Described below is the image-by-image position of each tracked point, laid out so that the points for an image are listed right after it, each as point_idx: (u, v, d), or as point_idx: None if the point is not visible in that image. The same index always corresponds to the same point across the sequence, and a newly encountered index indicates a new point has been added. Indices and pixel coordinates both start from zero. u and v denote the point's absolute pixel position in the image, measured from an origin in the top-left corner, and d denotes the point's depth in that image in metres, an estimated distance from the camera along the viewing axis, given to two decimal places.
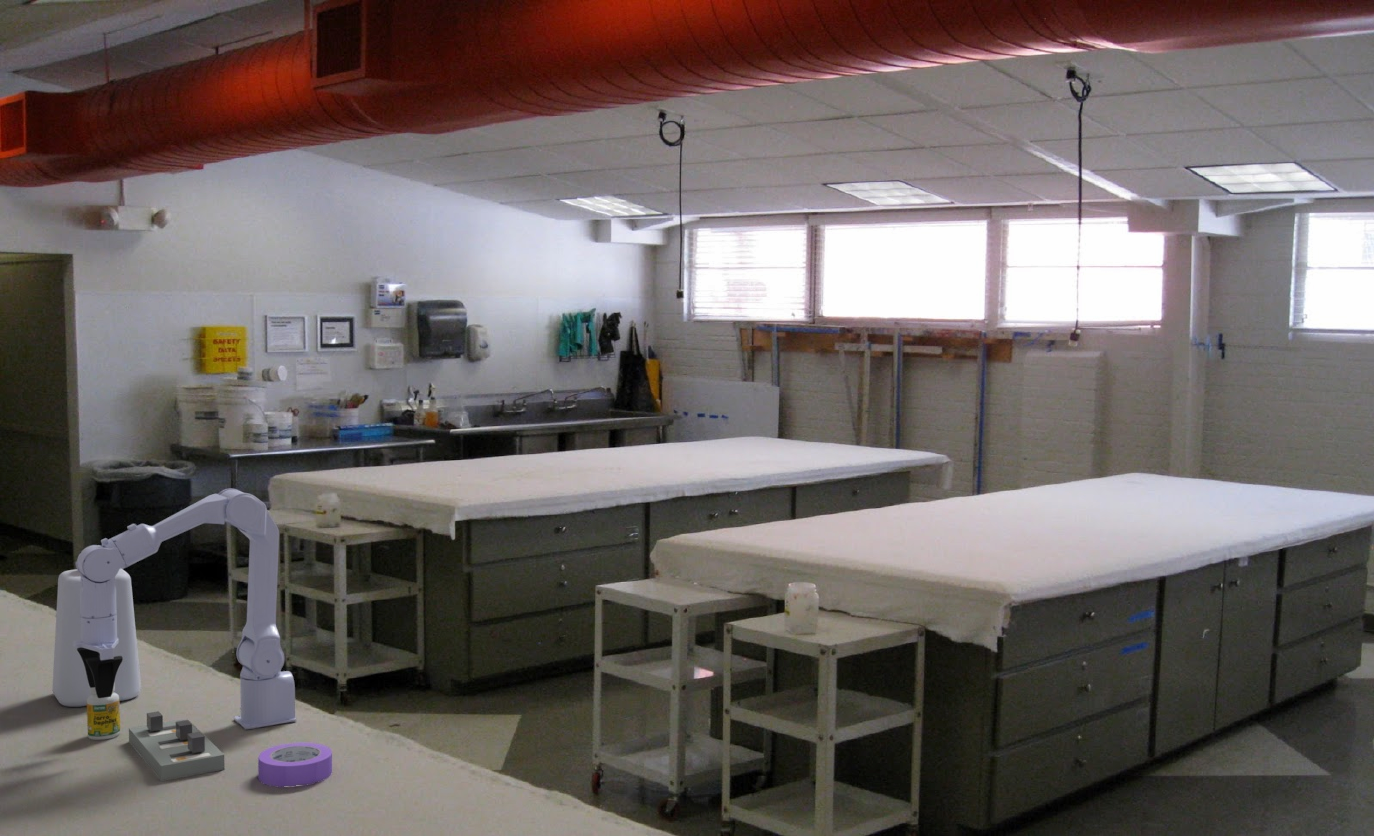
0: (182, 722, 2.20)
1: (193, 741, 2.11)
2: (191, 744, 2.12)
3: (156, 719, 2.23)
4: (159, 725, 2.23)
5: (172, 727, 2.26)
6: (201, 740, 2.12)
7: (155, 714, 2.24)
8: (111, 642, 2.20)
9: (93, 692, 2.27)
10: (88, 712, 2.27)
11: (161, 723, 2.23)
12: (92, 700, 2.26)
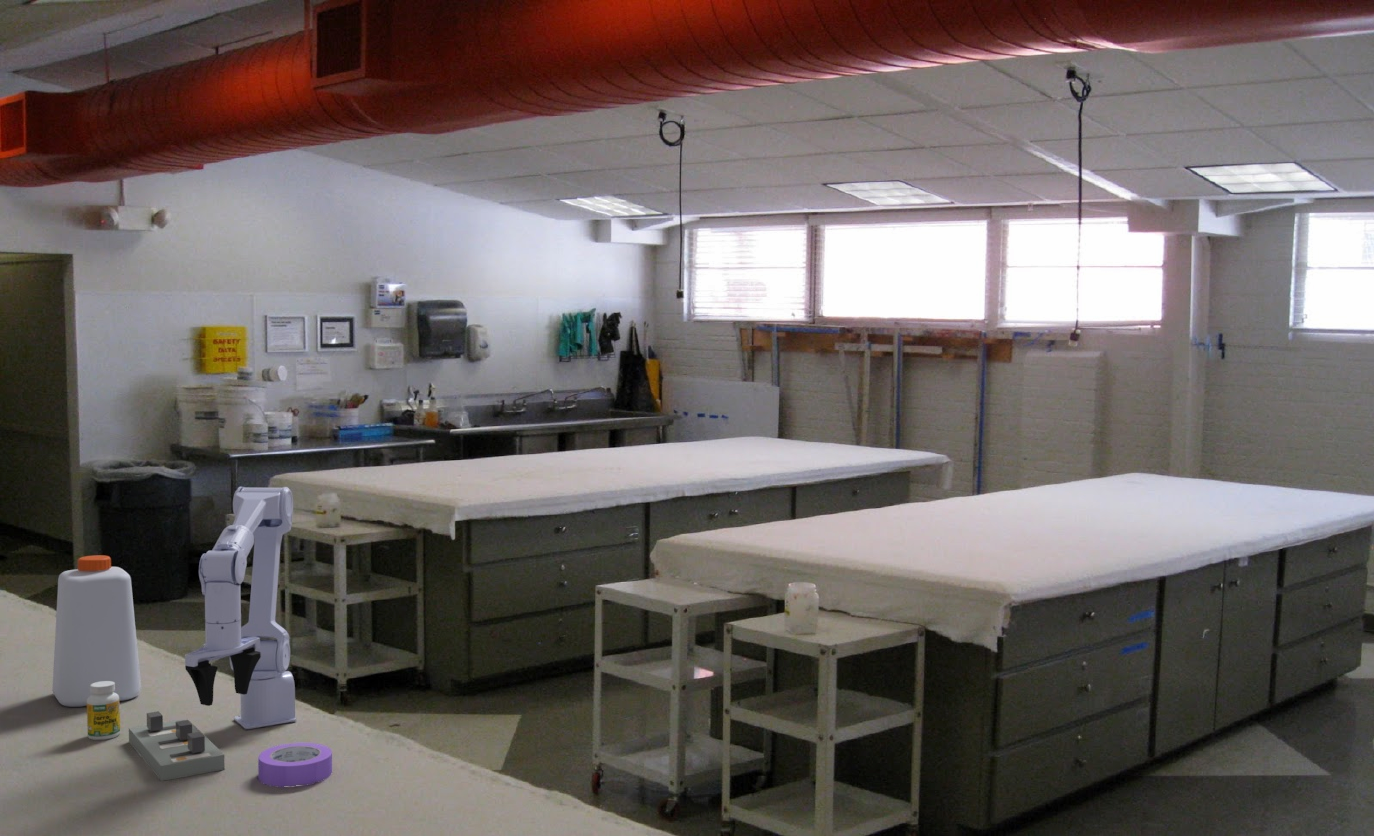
0: (182, 722, 2.20)
1: (193, 741, 2.11)
2: (191, 744, 2.12)
3: (156, 719, 2.23)
4: (159, 725, 2.23)
5: (172, 727, 2.26)
6: (201, 740, 2.12)
7: (155, 714, 2.24)
8: (217, 650, 2.13)
9: (93, 692, 2.27)
10: (88, 712, 2.27)
11: (161, 723, 2.23)
12: (92, 700, 2.26)
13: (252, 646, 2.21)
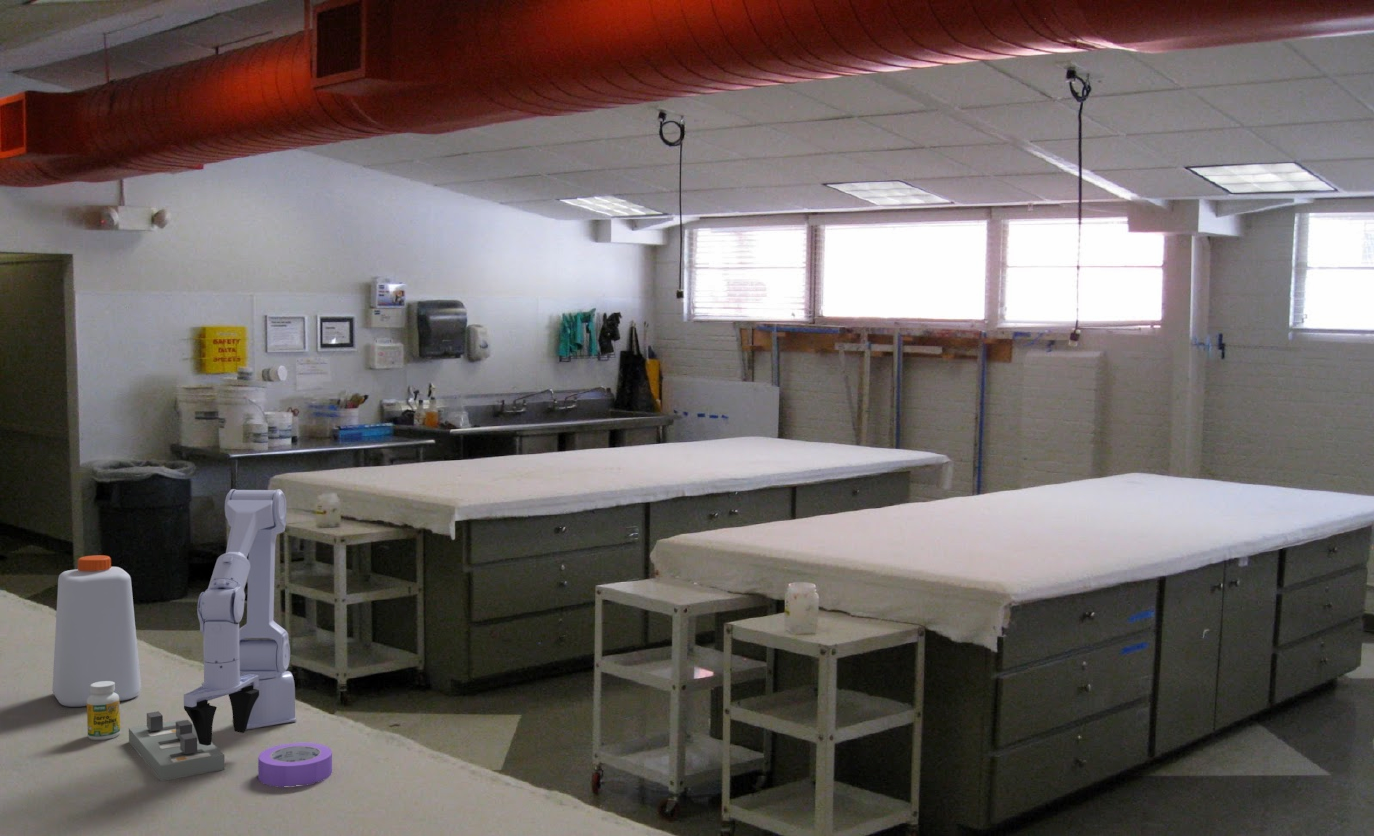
0: (182, 722, 2.20)
1: (185, 742, 2.11)
2: (184, 745, 2.11)
3: (156, 719, 2.23)
4: (159, 725, 2.23)
5: (172, 727, 2.26)
6: (194, 741, 2.11)
7: (155, 714, 2.24)
8: (216, 690, 2.12)
9: (93, 692, 2.27)
10: (88, 712, 2.27)
11: (161, 723, 2.23)
12: (92, 700, 2.26)
13: (251, 684, 2.20)
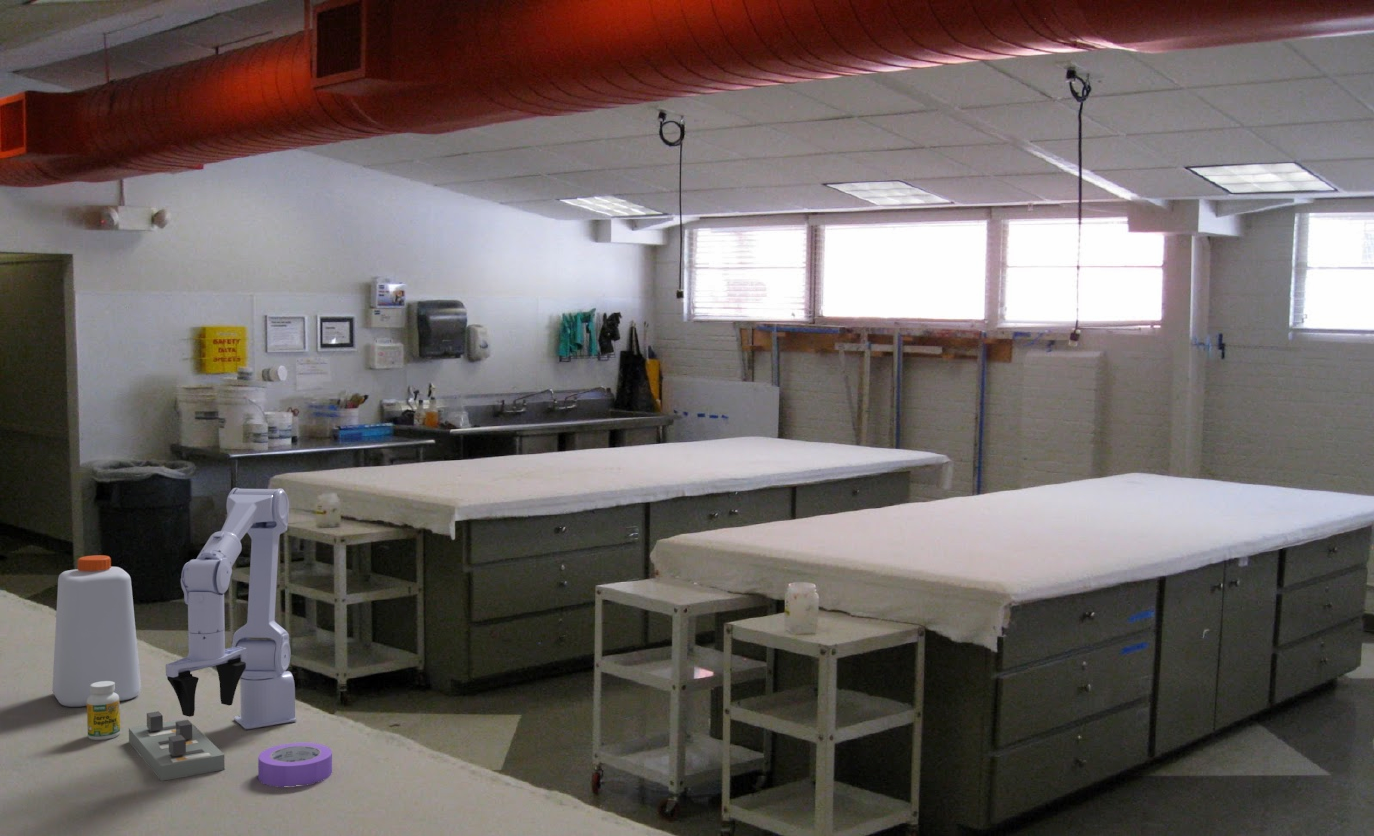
0: (182, 722, 2.20)
1: (174, 744, 2.09)
2: (172, 747, 2.10)
3: (156, 719, 2.23)
4: (159, 725, 2.23)
5: (172, 727, 2.26)
6: (182, 743, 2.10)
7: (155, 714, 2.24)
8: (199, 661, 2.10)
9: (93, 692, 2.27)
10: (88, 712, 2.27)
11: (161, 723, 2.23)
12: (92, 700, 2.26)
13: (238, 656, 2.18)
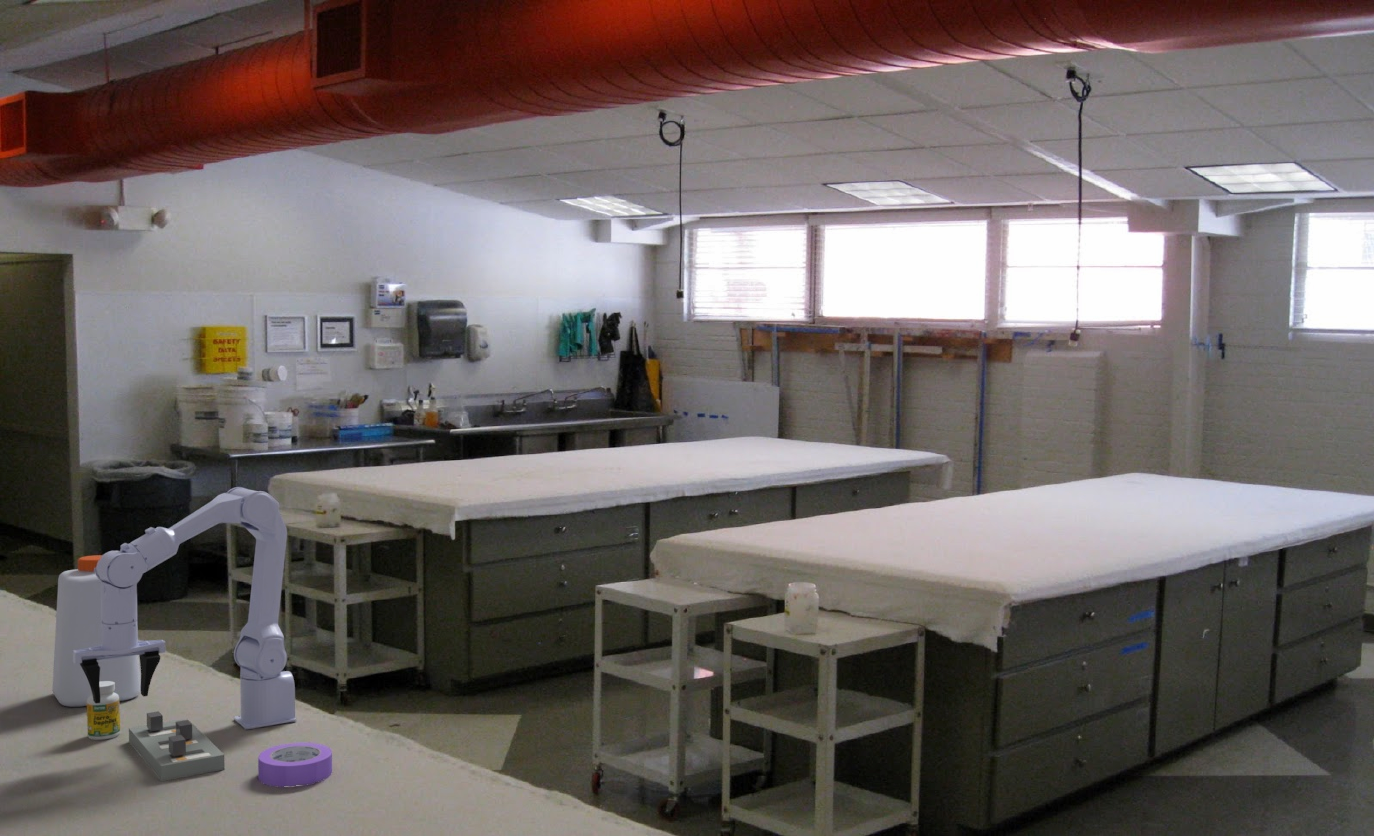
0: (182, 722, 2.20)
1: (174, 744, 2.09)
2: (172, 747, 2.10)
3: (156, 719, 2.23)
4: (159, 725, 2.23)
5: (172, 727, 2.26)
6: (182, 743, 2.10)
7: (155, 714, 2.24)
8: (105, 650, 2.16)
9: None
10: (88, 712, 2.27)
11: (161, 723, 2.23)
12: (92, 700, 2.26)
13: (157, 649, 2.22)
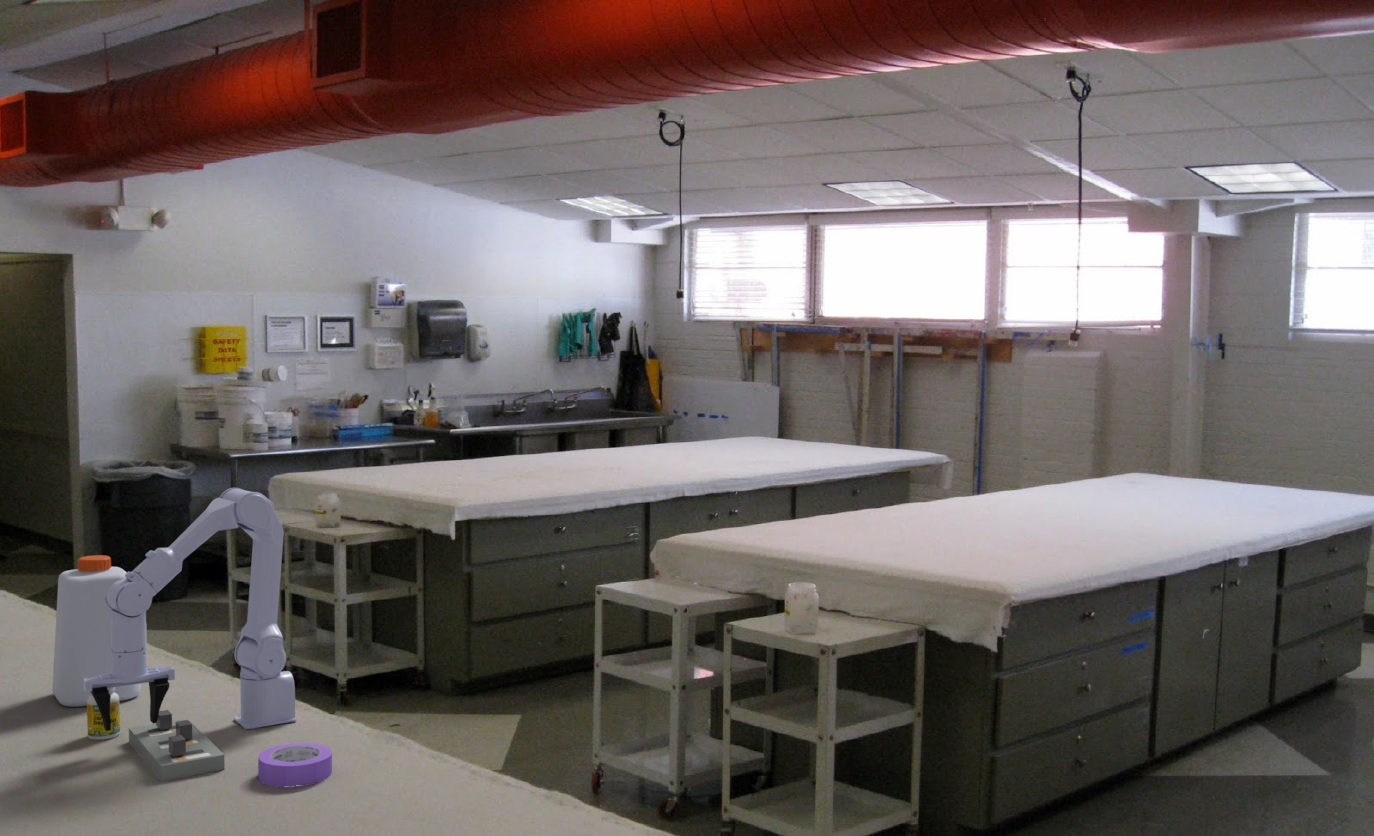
0: (182, 722, 2.20)
1: (174, 744, 2.09)
2: (172, 747, 2.10)
3: (165, 718, 2.24)
4: (169, 723, 2.24)
5: (172, 727, 2.26)
6: (182, 743, 2.10)
7: (164, 712, 2.25)
8: (115, 678, 2.19)
9: None
10: (88, 712, 2.27)
11: (170, 722, 2.24)
12: (92, 700, 2.26)
13: (166, 676, 2.25)
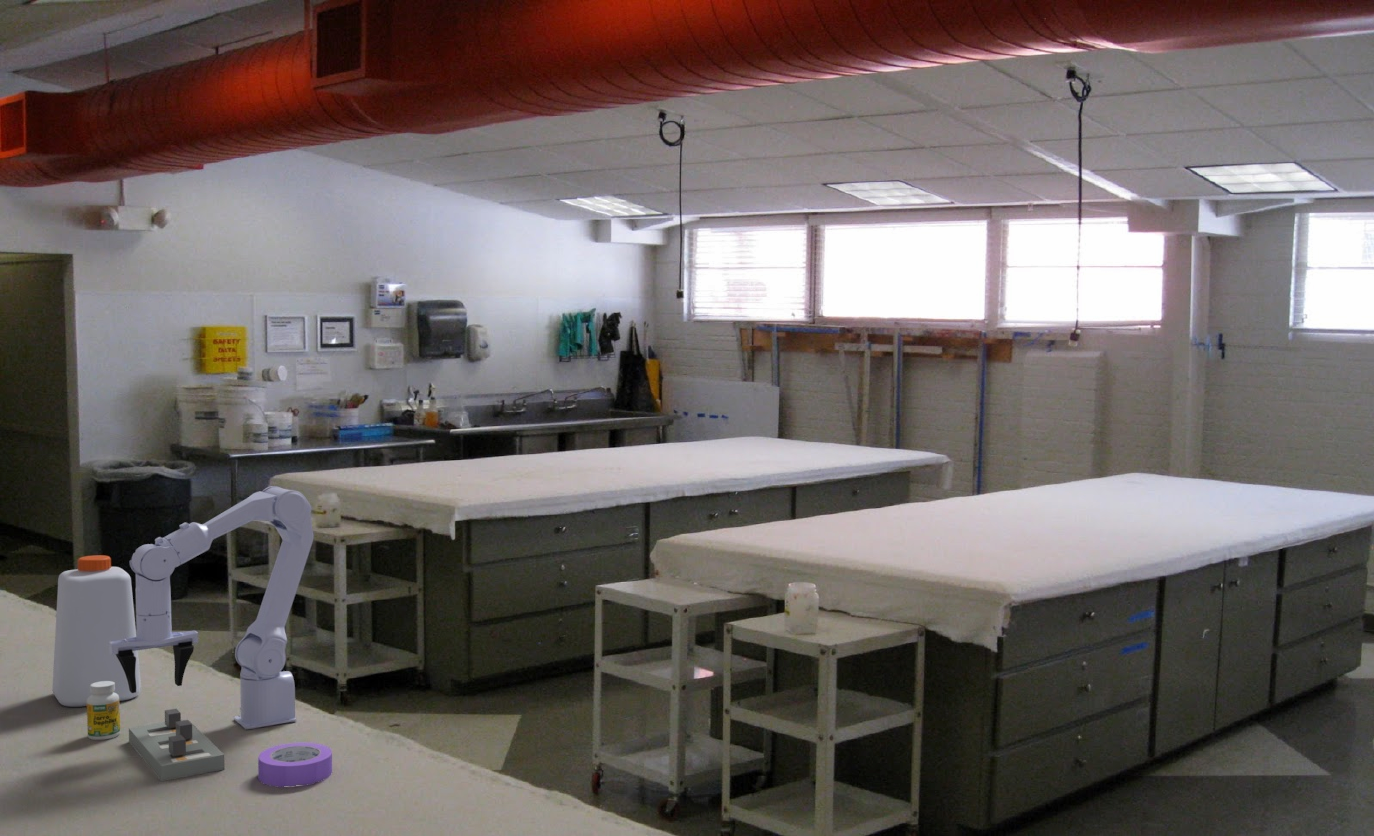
0: (182, 722, 2.20)
1: (174, 744, 2.09)
2: (172, 747, 2.10)
3: (174, 716, 2.25)
4: None
5: None
6: (182, 743, 2.10)
7: (173, 711, 2.26)
8: (141, 641, 2.22)
9: (93, 692, 2.27)
10: (88, 712, 2.27)
11: (179, 720, 2.25)
12: (92, 700, 2.26)
13: (190, 640, 2.28)
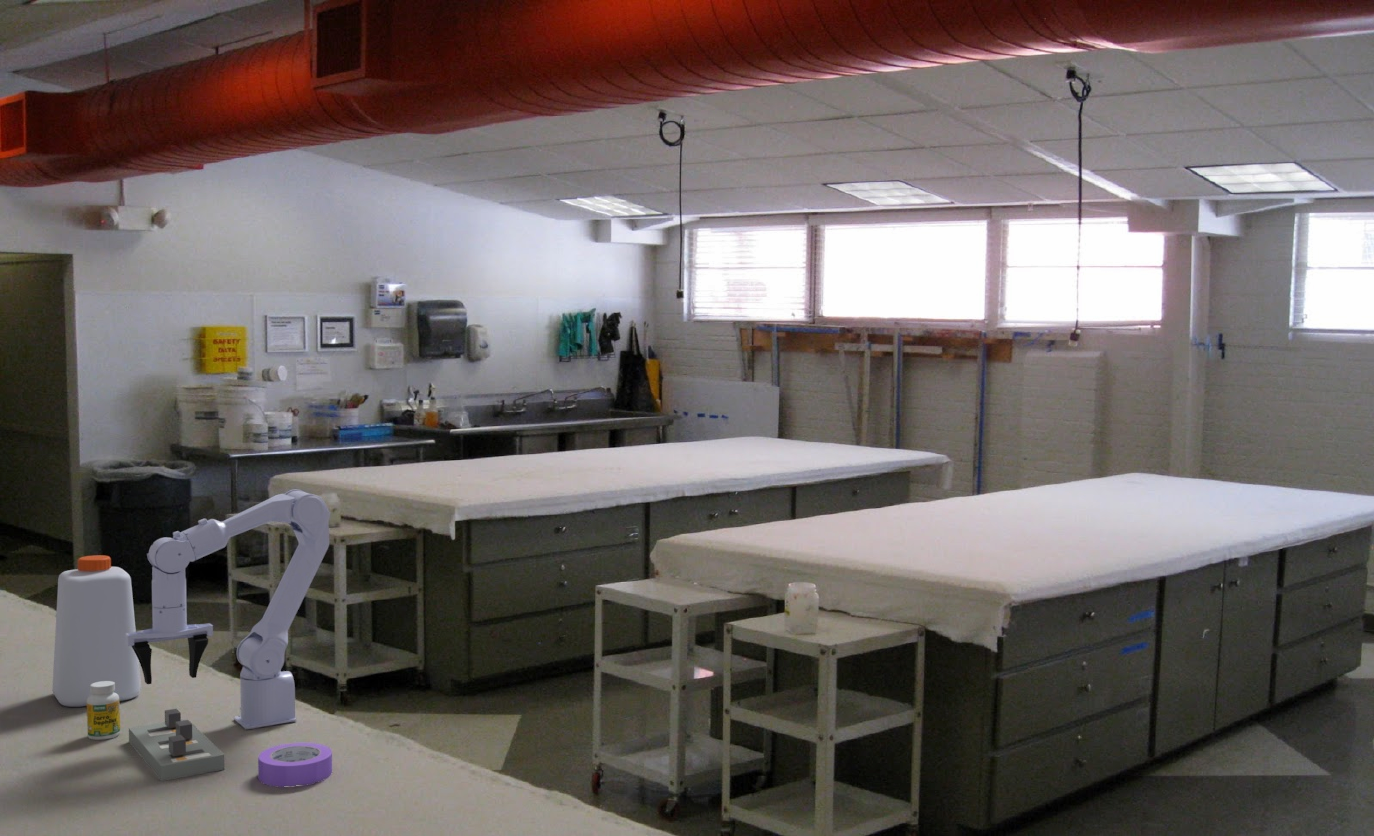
0: (182, 722, 2.20)
1: (174, 744, 2.09)
2: (172, 747, 2.10)
3: (174, 716, 2.25)
4: None
5: None
6: (182, 743, 2.10)
7: (173, 711, 2.26)
8: (156, 633, 2.25)
9: (93, 692, 2.27)
10: (88, 712, 2.27)
11: (179, 720, 2.25)
12: (92, 700, 2.26)
13: (205, 632, 2.31)
